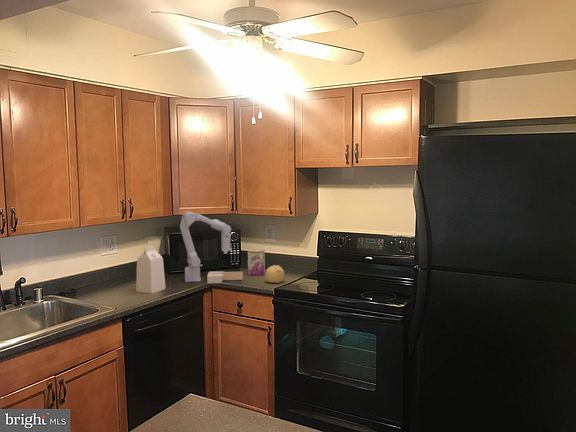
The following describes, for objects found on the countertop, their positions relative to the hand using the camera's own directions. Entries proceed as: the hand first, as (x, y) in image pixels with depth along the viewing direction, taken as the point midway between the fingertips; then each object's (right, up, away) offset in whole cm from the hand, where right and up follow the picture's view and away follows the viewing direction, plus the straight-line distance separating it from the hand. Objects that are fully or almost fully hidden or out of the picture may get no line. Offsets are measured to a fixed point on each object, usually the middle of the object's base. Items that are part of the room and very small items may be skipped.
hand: (226, 262), depth 308 cm
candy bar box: (+19, -9, +7) cm, 22 cm away
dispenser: (-6, -10, -10) cm, 16 cm away
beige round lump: (+33, -11, -16) cm, 38 cm away
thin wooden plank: (+5, -10, -9) cm, 15 cm away
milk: (-40, -13, -33) cm, 53 cm away
